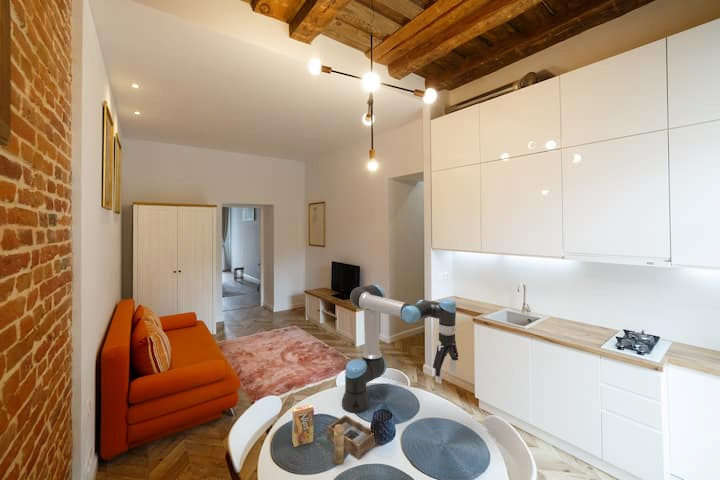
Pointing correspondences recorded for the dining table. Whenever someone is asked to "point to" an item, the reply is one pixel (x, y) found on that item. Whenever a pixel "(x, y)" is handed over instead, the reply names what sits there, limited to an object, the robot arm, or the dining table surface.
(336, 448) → the peg
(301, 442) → the candy box
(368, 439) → the crate
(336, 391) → the dining table surface
